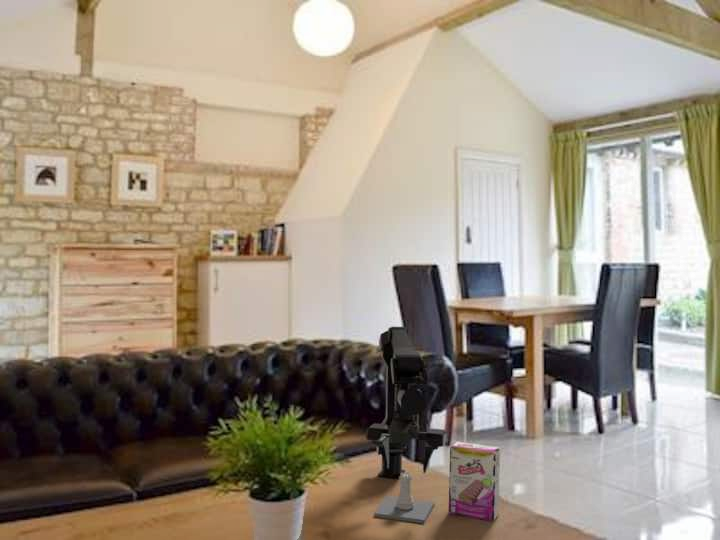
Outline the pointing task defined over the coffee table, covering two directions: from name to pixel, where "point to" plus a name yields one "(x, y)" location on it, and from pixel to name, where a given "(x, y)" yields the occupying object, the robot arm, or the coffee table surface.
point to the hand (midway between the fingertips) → (405, 470)
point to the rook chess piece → (405, 493)
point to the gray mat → (413, 515)
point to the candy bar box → (474, 481)
